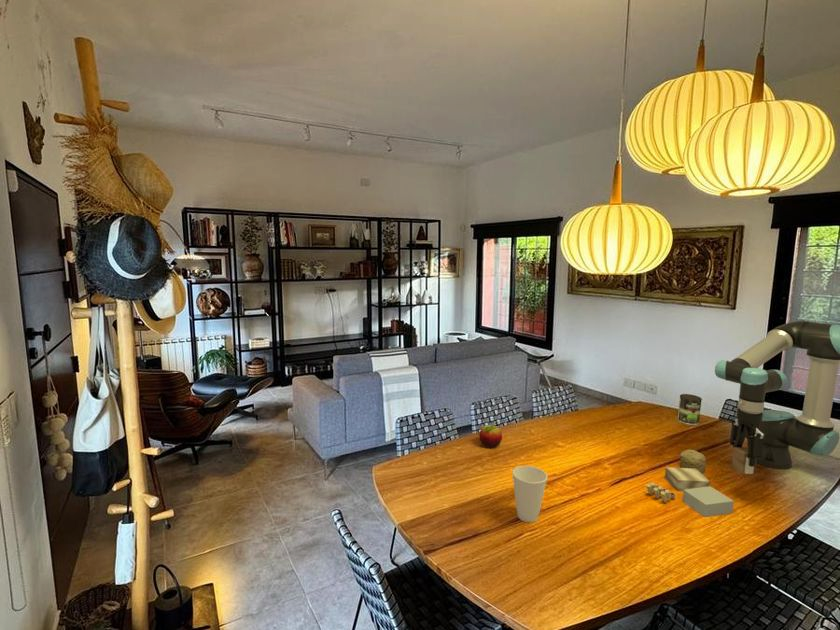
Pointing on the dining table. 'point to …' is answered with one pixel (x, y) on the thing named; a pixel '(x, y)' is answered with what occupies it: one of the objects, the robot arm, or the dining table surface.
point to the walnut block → (740, 459)
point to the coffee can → (689, 409)
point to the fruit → (490, 436)
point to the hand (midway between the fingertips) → (742, 469)
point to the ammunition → (660, 492)
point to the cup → (528, 491)
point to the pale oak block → (685, 478)
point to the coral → (693, 460)
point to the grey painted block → (707, 501)
